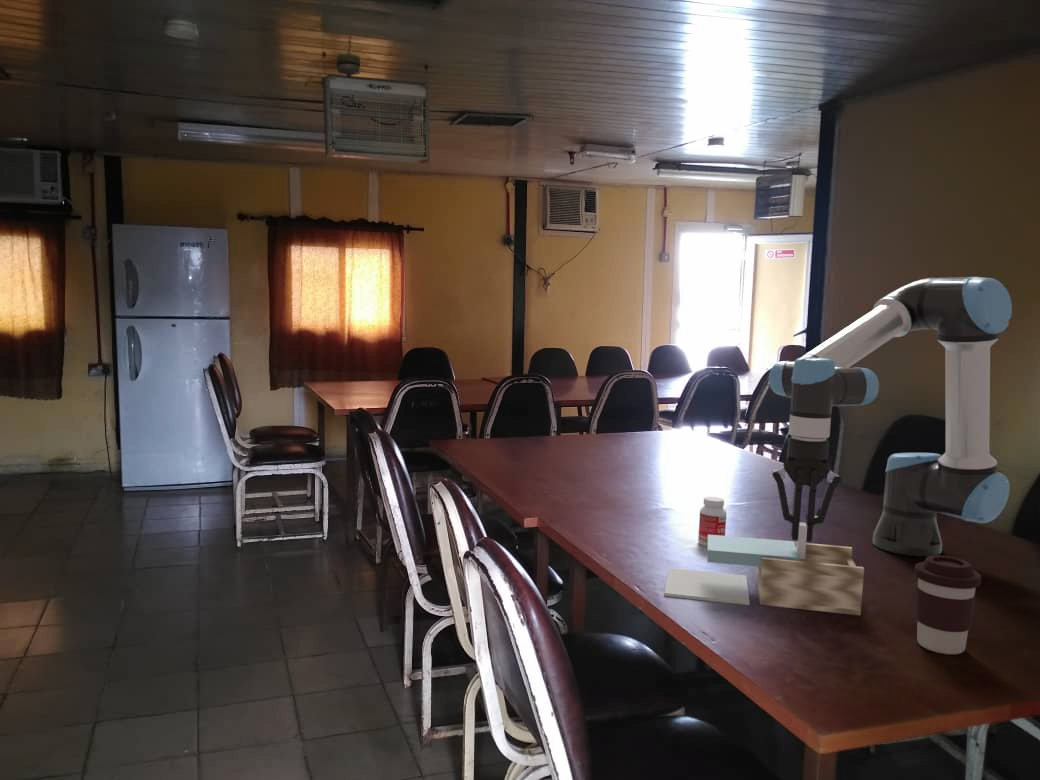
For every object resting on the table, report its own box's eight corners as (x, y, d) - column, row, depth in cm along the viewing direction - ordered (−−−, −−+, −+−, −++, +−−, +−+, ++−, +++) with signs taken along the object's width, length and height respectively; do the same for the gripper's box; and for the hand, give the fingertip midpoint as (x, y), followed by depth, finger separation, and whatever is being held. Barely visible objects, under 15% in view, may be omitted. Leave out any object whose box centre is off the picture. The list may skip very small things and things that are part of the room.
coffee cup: (952, 635, 145) (960, 552, 144) (986, 659, 135) (995, 571, 134) (897, 634, 145) (904, 551, 143) (927, 658, 135) (935, 570, 133)
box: (848, 590, 167) (851, 547, 166) (860, 615, 153) (864, 568, 152) (756, 580, 171) (758, 538, 170) (760, 604, 157) (763, 558, 156)
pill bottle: (720, 549, 192) (723, 503, 190) (694, 545, 195) (697, 499, 193) (727, 543, 197) (730, 498, 196) (702, 539, 200) (705, 494, 199)
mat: (745, 578, 172) (745, 575, 172) (749, 605, 156) (749, 602, 156) (668, 570, 176) (668, 567, 175) (664, 595, 160) (664, 593, 160)
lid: (792, 552, 167) (793, 541, 167) (799, 570, 156) (799, 557, 156) (707, 545, 171) (707, 534, 170) (707, 562, 160) (708, 550, 160)
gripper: (841, 437, 161) (832, 554, 163) (771, 432, 164) (764, 547, 166) (847, 443, 154) (838, 565, 156) (775, 438, 156) (767, 559, 159)
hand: (800, 556), depth 161 cm, fingers closed
